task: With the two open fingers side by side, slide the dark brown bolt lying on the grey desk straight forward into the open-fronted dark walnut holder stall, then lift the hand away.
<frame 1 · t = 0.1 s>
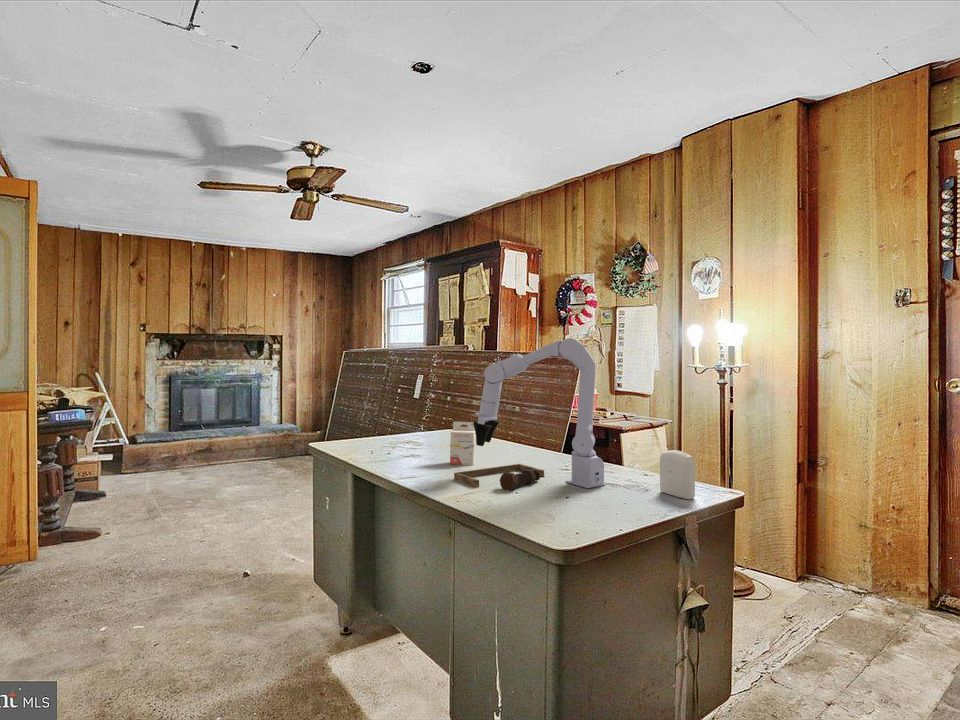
hand: (483, 443, 169), 11 cm above the table, tool pointing down, fingers open, 7 cm apart
bolt: (522, 487, 158), on the table
holder stall: (499, 477, 168), on the table
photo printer: (676, 496, 148), on the table
ink cartridge box: (462, 464, 190), on the table
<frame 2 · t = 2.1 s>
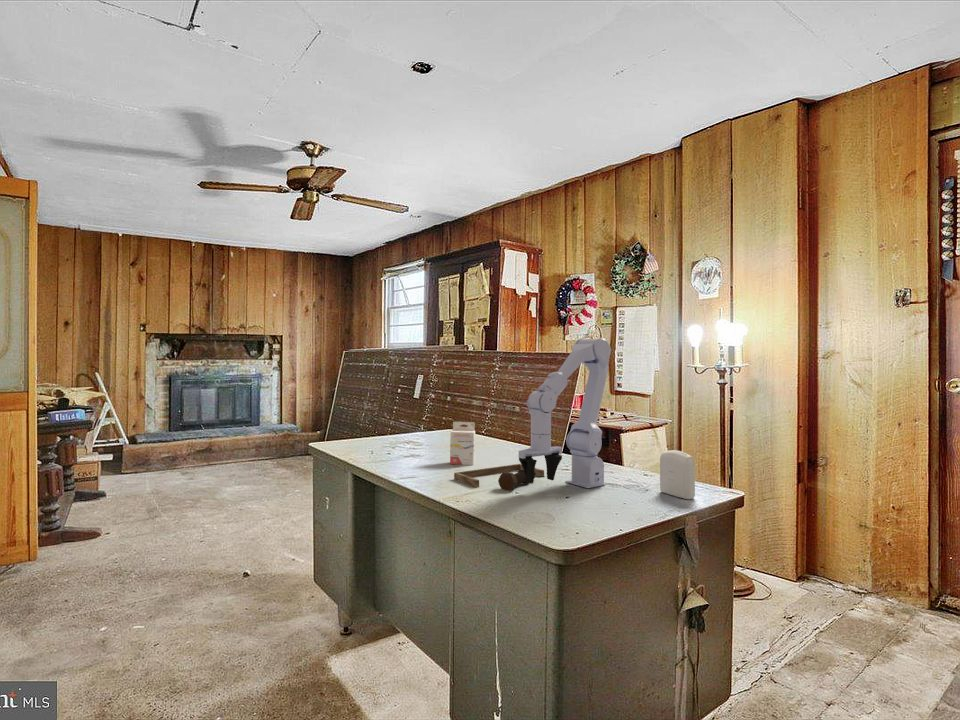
hand: (540, 481, 151), 3 cm above the table, tool pointing down, fingers open, 7 cm apart
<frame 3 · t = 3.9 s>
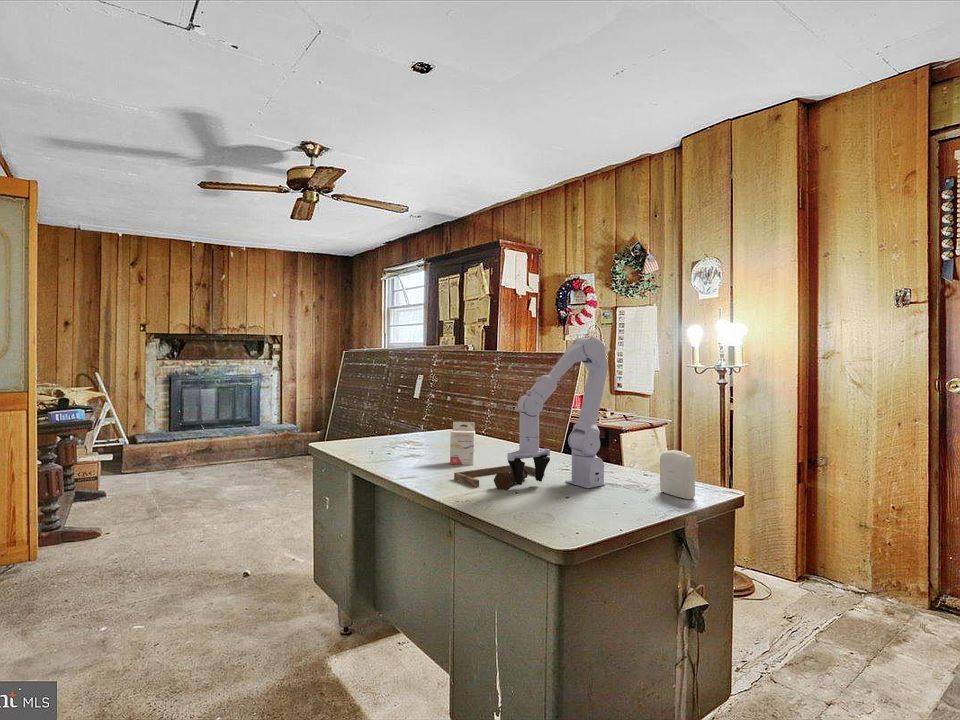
hand: (529, 482, 156), 1 cm above the table, tool pointing down, fingers open, 7 cm apart
bolt: (513, 485, 160), on the table
everything else where it was.
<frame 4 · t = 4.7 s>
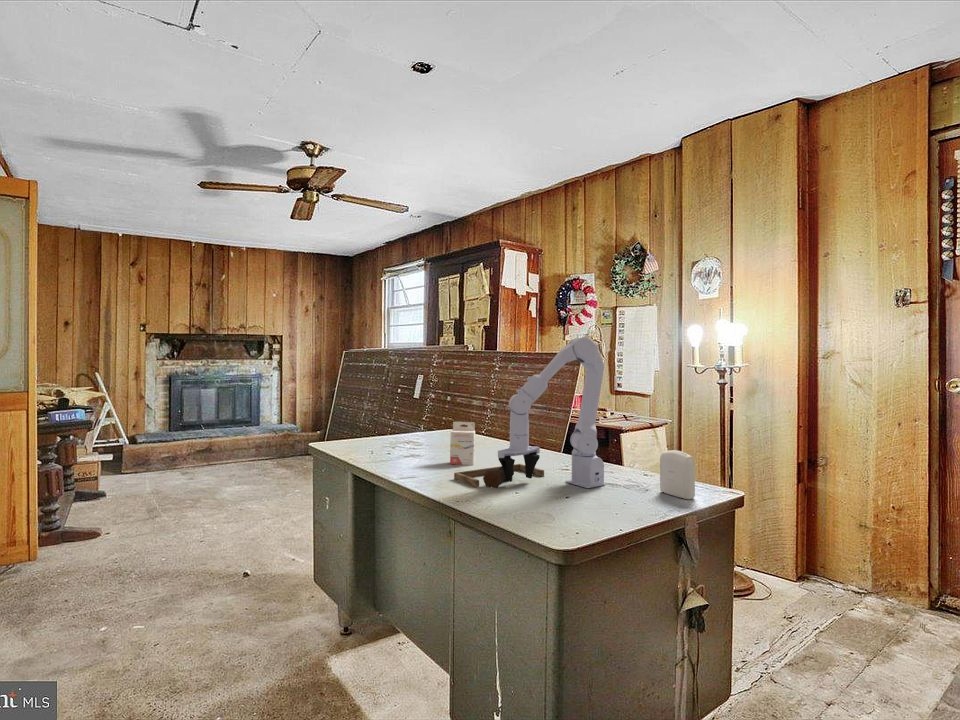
hand: (519, 479, 160), 1 cm above the table, tool pointing down, fingers open, 7 cm apart
bolt: (501, 483, 162), on the table, touching gripper
everything else where it was.
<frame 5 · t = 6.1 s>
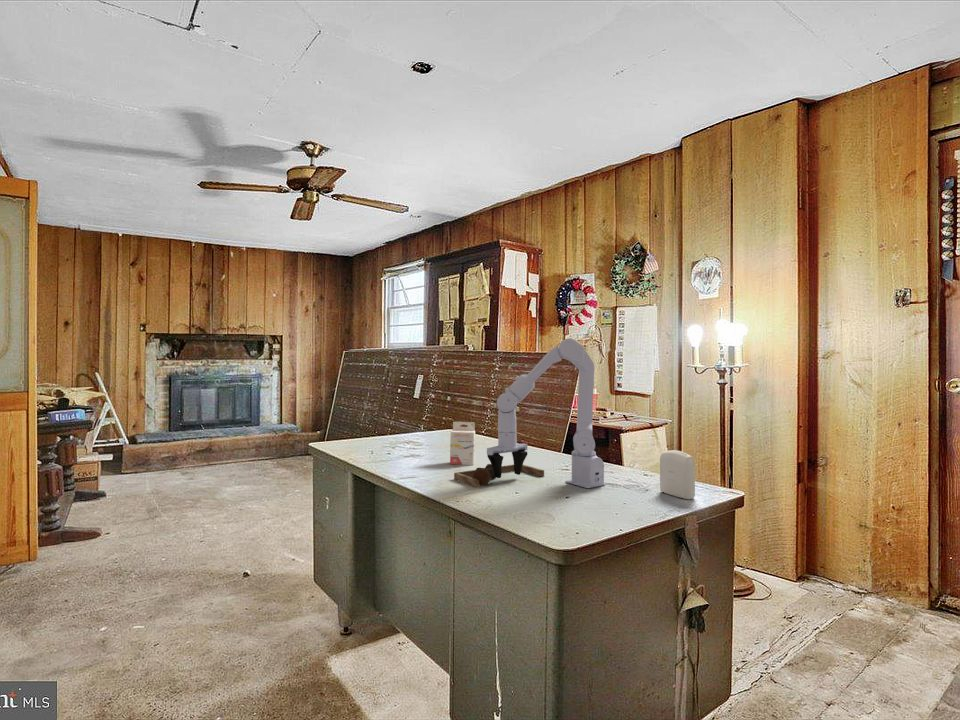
hand: (507, 475, 164), 1 cm above the table, tool pointing down, fingers open, 7 cm apart
bolt: (488, 481, 165), on the table, touching gripper, holder stall
everything else where it was.
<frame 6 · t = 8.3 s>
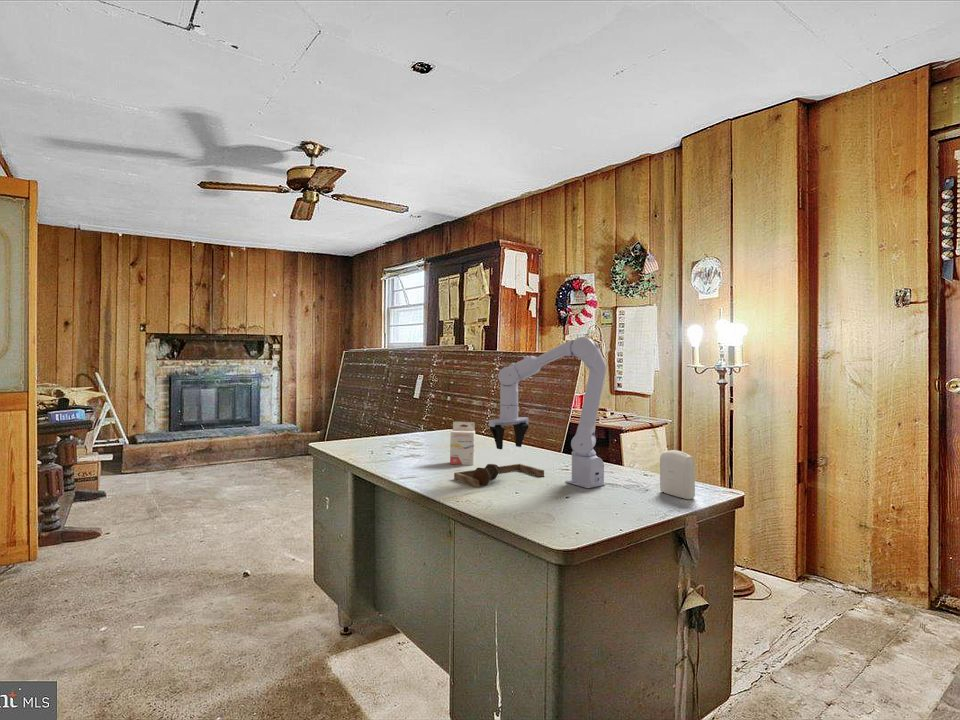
hand: (509, 447, 169), 9 cm above the table, tool pointing down, fingers open, 7 cm apart
bolt: (488, 481, 165), on the table, touching holder stall
everything else where it was.
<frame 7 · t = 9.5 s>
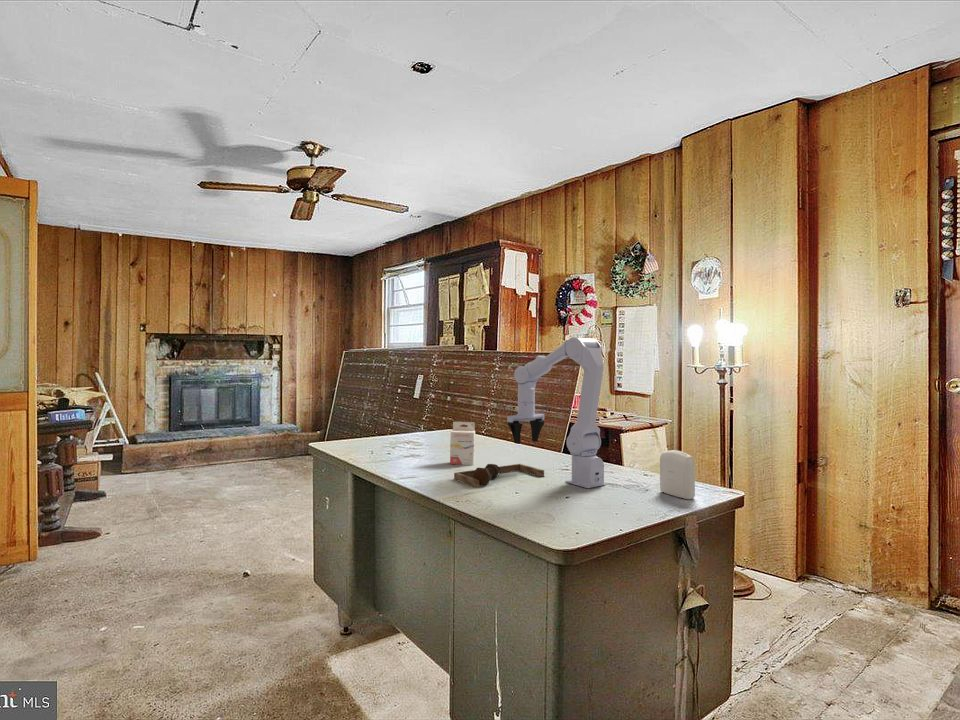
hand: (526, 442, 179), 9 cm above the table, tool pointing down, fingers open, 7 cm apart
nothing on the table moved.
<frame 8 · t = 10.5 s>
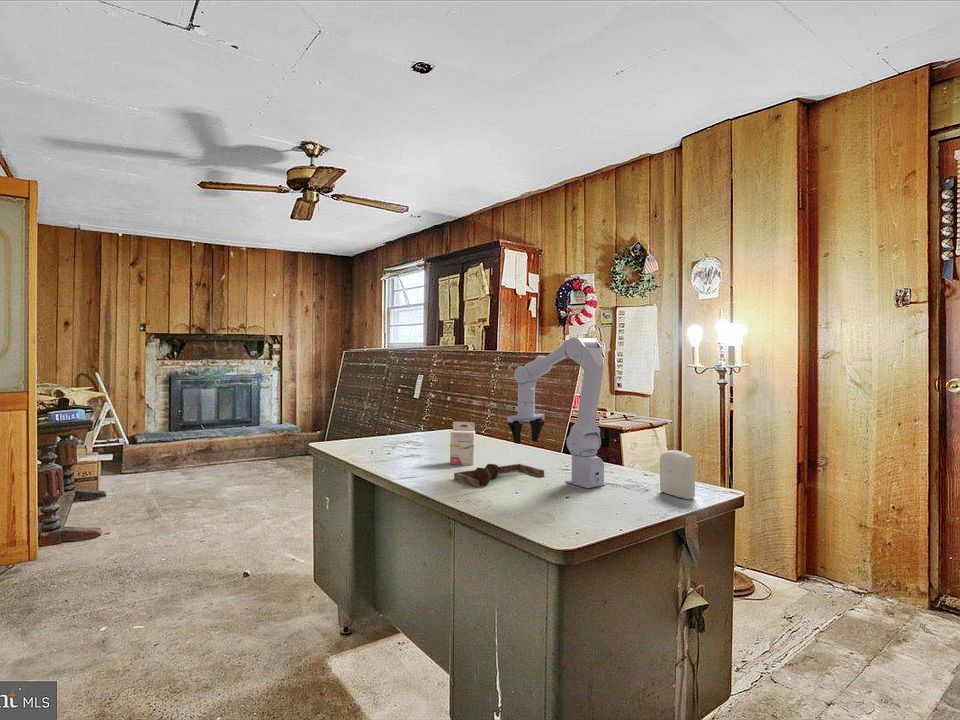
hand: (526, 442, 179), 9 cm above the table, tool pointing down, fingers open, 7 cm apart
nothing on the table moved.
at the end: bolt inside the target area on the holder stall (4.7 cm from its centre), point 0.0 cm above the holder stall's base; bolt moved 12.2 cm from its start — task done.
